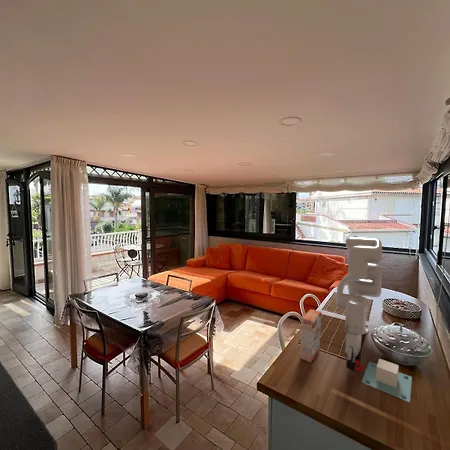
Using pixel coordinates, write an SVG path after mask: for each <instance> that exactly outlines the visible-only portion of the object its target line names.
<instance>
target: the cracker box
mask: <svg viewBox="0 0 450 450" xmlns="http://www.w3.org/2000/svg"><path fill="white" fill-rule="evenodd" d="M321 320H322V311H319V310H315V309H309V310H308V311H307V312H306V313H305V314H304V315H303V316H302V317H301V329H300V330H301V331H300V332H301V333H300V355H299V356H300V359H301V360H302V361H304V362H305V361H306V362H308V363H312V362H313V361H314V359H315V357H316V356H317V354H318V353H319V351H320V350H321V349H320V348H321V346H320V343H321V327H322V325H321V324H322V321H321Z"/></svg>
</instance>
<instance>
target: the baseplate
mask: <svg viewBox="0 0 450 450" xmlns="http://www.w3.org/2000/svg"><path fill="white" fill-rule="evenodd" d="M377 364H378V363H375V362H372V361H369V362H368V364H367V367H366V369H365V370H364V371H365V372H364V373H363V376H362V380H361V383H363V384H365V385H367V386H369V387H372V388H374V389H376V390H379V391H381V392H383V393H386V394H388V395H391V396H393V397H396V398H399V399H401V400H403V401H405V402H408V403H410V402H411V394H412V380H413V377H412V376H410V375H408V374H404V373H403V372H399V371H398V382H397V388H395V387H392V386H390V385H387V384H385V383H382V382H380V381H377V380H376V371H377Z"/></svg>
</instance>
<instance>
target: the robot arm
mask: <svg viewBox="0 0 450 450" xmlns="http://www.w3.org/2000/svg"><path fill="white" fill-rule="evenodd" d="M345 246H346V249H347V251H348V265H347V266H348V268H347V270H348V271H347V274H346V275H345V276H344V277H342V278H341V280H340V281H339V282H338V284H337V288H336V299H335V301H336V303H335V304H336V307H338V308H339V309H341V310H345V321H344V322H345V323H344V324H345V325H344V329H345V332H346V334H345V343H344V344H345V345H344V353H345V354H347V356H346V363H347V365H346V369H348V370H351V371H352V372H355V371H356V370H355V366H356V365H355V362H354V361H359V362H360V359H361V357H360V354H361V353H360V350H361V346H362V335H367V334H368V333H369V329H368V328H367V325H366V324H367V323H366V322H367V313H368V311H370V308H371V303H370V301H369V299H368V298H366V297H371V298H380V296H381V294H382V286H383V285H382V284H383V283H382V282H383V271H382V267H381V265H379V264H380V263H381V262H382V259H383V245H382V241H381V239H379V238H373V237H372V238H371V237H354V236H353V237H347V238H346V239H345ZM346 285H347V291H348V293H344V290H345V289H344V288H345V287H346Z"/></svg>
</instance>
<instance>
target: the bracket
mask: <svg viewBox="0 0 450 450" xmlns="http://www.w3.org/2000/svg"><path fill="white" fill-rule="evenodd" d="M354 362H355V371H365V367H364V366H363V365H361V362H360V360H359V361H358V360H354ZM345 365H346V366H347V362H345ZM357 366H359V367H357Z"/></svg>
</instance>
